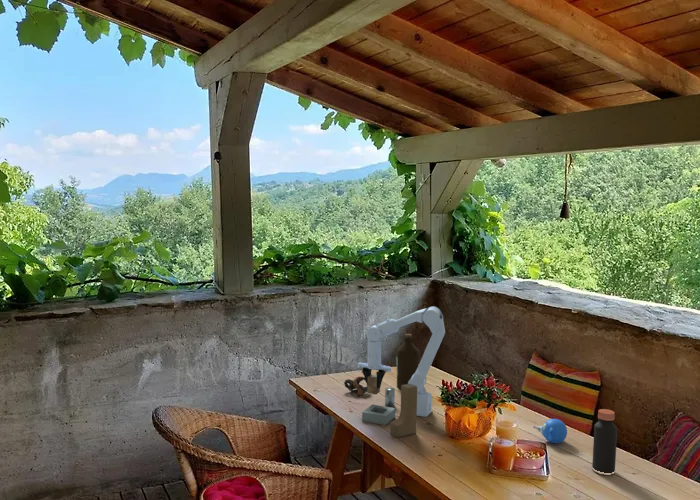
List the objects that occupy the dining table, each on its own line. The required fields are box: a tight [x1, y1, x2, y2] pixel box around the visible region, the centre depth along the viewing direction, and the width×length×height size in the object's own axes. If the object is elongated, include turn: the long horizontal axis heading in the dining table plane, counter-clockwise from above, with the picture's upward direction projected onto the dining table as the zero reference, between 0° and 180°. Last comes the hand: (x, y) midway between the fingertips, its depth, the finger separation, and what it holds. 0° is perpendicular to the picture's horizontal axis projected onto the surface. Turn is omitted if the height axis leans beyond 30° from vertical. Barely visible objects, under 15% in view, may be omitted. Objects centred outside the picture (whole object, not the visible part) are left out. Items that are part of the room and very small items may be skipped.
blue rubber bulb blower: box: [532, 418, 568, 444], centre depth 220 cm, size 12×12×8 cm
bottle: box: [591, 408, 618, 473], centre depth 195 cm, size 7×7×20 cm
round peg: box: [384, 387, 396, 408], centre depth 256 cm, size 4×4×7 cm
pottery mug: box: [343, 376, 368, 397], centre depth 271 cm, size 12×10×8 cm
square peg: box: [366, 373, 381, 395], centre depth 252 cm, size 4×4×7 cm
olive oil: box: [395, 333, 420, 390], centre depth 280 cm, size 11×11×25 cm
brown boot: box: [389, 384, 417, 438], centre depth 224 cm, size 9×4×18 cm, turn 120°
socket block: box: [361, 404, 396, 426], centre depth 240 cm, size 10×10×4 cm
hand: (373, 386), depth 252 cm, fingers closed on square peg, 4 cm apart
